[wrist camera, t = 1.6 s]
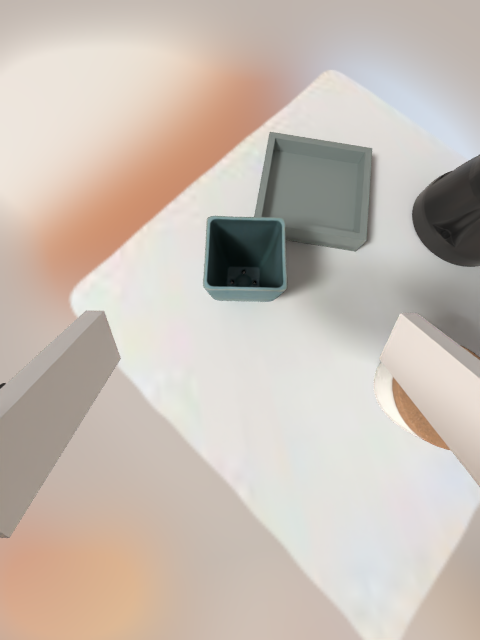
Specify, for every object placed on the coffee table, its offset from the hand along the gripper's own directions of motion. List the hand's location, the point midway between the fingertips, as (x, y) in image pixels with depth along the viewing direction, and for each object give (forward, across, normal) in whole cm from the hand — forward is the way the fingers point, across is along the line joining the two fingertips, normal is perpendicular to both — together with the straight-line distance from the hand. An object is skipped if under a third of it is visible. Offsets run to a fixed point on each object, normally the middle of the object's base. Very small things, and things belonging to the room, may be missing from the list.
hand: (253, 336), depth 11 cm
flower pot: (+23, 0, -7) cm, 24 cm away
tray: (+32, +11, +3) cm, 34 cm away
